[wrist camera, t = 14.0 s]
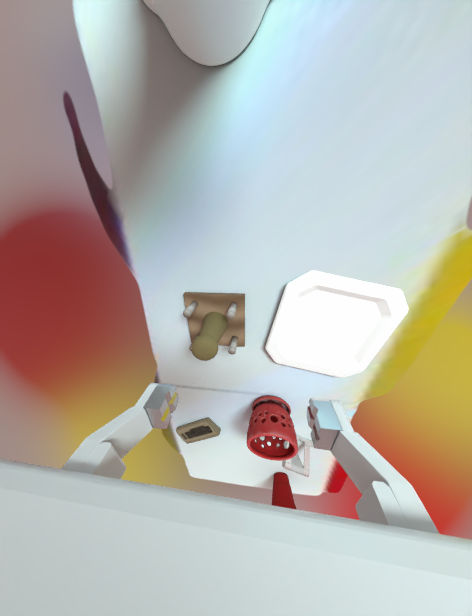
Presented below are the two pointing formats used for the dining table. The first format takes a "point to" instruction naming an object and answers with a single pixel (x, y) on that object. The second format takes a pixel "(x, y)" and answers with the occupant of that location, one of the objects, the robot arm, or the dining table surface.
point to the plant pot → (271, 429)
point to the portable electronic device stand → (295, 462)
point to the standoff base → (224, 304)
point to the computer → (198, 430)
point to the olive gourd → (209, 336)
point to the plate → (333, 323)
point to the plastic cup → (282, 491)
